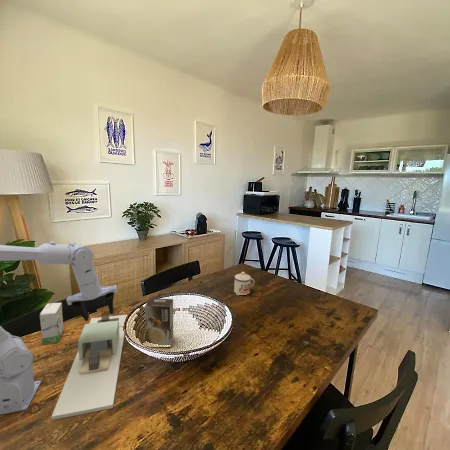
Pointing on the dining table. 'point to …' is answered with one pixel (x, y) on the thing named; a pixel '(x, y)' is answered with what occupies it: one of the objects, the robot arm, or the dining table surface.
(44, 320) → the ink box
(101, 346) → the block
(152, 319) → the coffee box
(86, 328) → the tunnel
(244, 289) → the teacup with lid
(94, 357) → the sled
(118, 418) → the dining table surface
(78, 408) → the deck
